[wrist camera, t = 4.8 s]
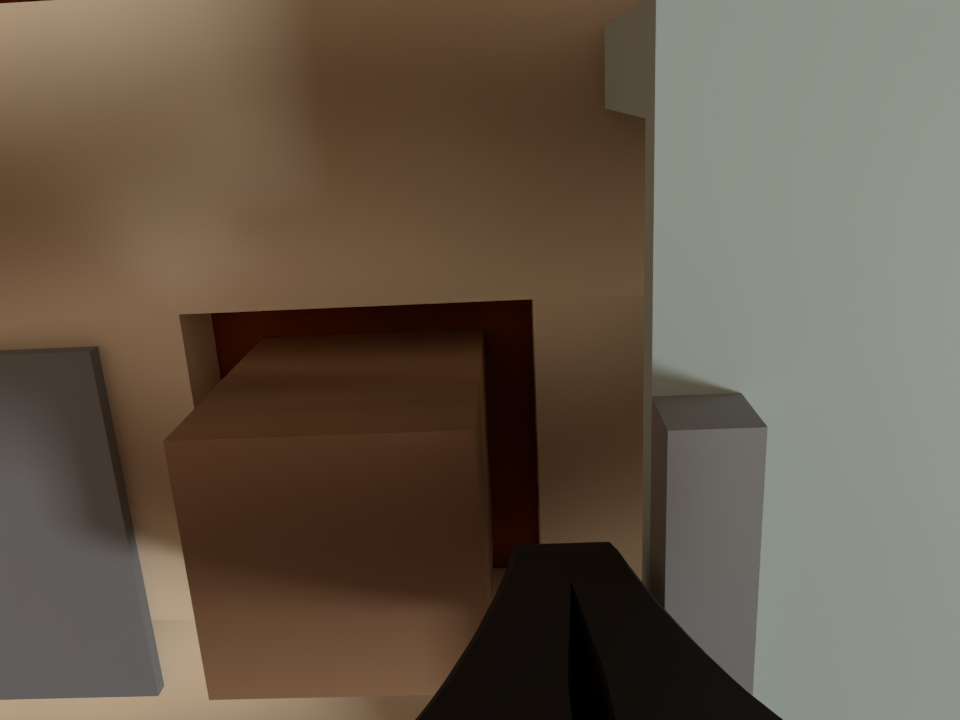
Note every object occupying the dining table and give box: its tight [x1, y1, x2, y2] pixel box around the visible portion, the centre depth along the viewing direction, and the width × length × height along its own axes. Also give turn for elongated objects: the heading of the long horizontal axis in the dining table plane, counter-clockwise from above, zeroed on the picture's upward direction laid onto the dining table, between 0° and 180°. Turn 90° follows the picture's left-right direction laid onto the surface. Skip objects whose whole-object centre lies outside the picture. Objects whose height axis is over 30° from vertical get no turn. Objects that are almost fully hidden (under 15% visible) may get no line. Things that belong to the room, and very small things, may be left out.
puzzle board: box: [0, 0, 646, 720], centre depth 16 cm, size 20×30×2 cm, turn 93°
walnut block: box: [163, 328, 494, 700], centre depth 14 cm, size 4×4×5 cm
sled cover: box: [604, 0, 960, 720], centre depth 12 cm, size 14×8×6 cm, turn 3°
